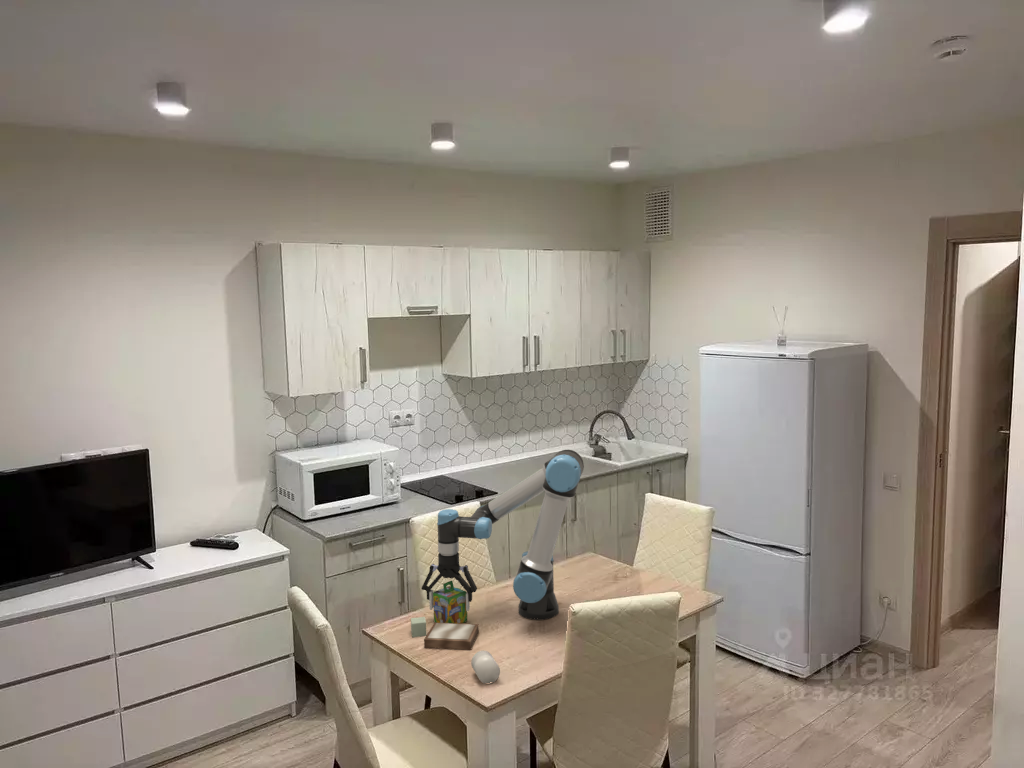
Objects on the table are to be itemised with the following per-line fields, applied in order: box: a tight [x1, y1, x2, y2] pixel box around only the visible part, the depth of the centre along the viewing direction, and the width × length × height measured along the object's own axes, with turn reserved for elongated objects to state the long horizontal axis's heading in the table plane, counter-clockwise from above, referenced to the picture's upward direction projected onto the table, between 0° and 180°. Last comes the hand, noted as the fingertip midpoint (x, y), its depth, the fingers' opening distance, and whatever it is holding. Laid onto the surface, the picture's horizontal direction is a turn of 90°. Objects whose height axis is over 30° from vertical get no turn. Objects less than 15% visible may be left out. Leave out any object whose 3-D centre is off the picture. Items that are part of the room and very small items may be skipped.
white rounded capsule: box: [470, 650, 501, 685], centre depth 232 cm, size 7×7×8 cm
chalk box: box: [433, 580, 468, 624], centre depth 275 cm, size 9×9×15 cm
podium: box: [423, 621, 480, 651], centre depth 260 cm, size 16×14×3 cm
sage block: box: [410, 616, 428, 638], centre depth 266 cm, size 5×5×5 cm
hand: (449, 609), depth 275 cm, fingers open, 13 cm apart
